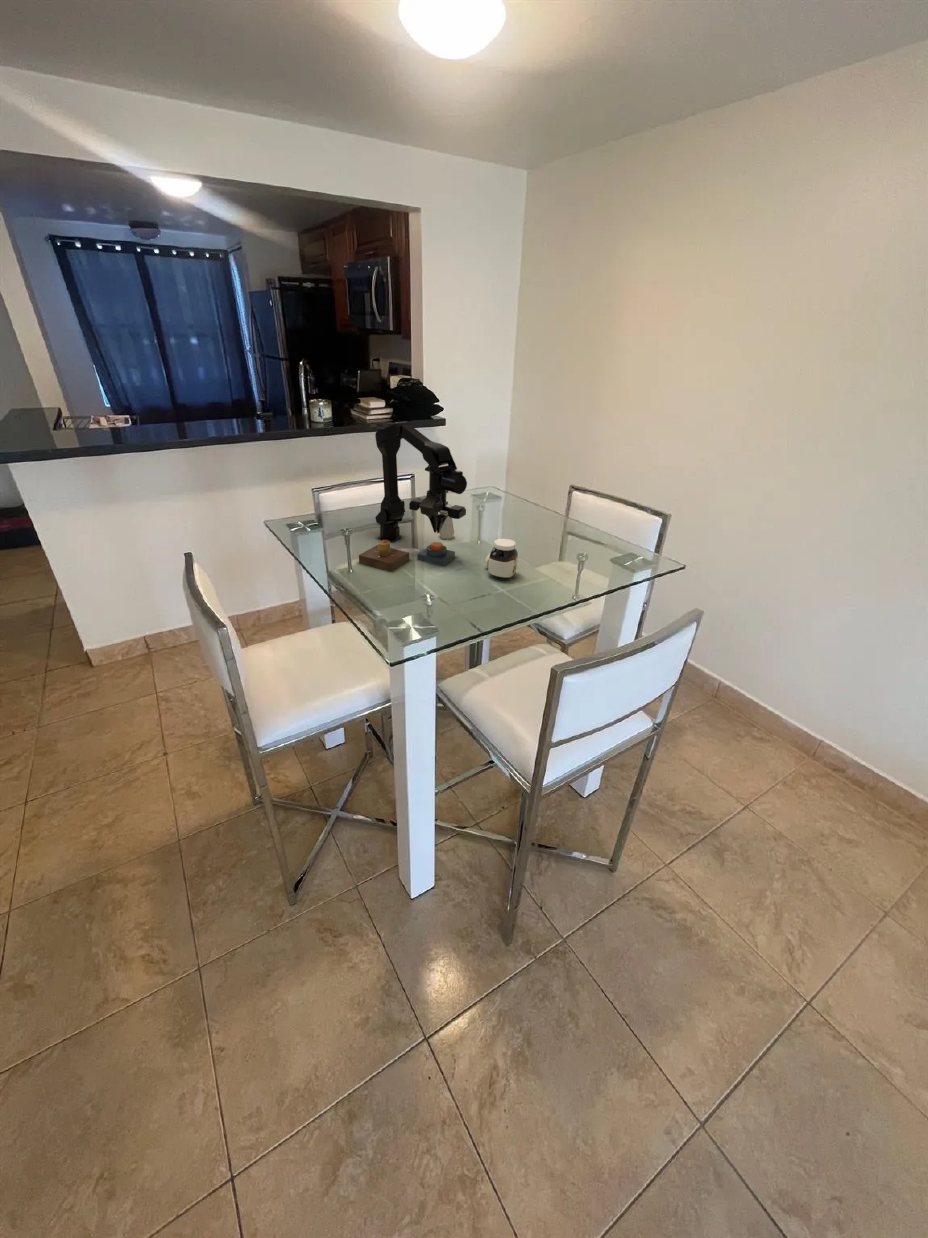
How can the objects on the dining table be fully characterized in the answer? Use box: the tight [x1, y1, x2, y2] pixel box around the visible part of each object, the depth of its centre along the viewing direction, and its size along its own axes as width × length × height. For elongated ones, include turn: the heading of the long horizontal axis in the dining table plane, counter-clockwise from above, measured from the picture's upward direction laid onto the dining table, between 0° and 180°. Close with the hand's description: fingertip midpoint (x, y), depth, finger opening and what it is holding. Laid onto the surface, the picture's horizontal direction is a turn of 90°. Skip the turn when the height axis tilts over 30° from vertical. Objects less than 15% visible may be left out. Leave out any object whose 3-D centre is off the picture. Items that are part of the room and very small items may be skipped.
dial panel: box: [358, 544, 410, 572], centre depth 172 cm, size 13×11×3 cm
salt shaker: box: [438, 503, 455, 541], centre depth 193 cm, size 6×6×13 cm
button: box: [430, 541, 444, 550], centre depth 176 cm, size 4×4×2 cm
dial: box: [377, 539, 391, 556], centre depth 171 cm, size 4×4×4 cm
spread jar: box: [484, 538, 519, 581], centre depth 167 cm, size 12×11×12 cm
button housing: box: [417, 544, 456, 567], centre depth 177 cm, size 10×9×4 cm
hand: (436, 532), depth 173 cm, fingers closed
